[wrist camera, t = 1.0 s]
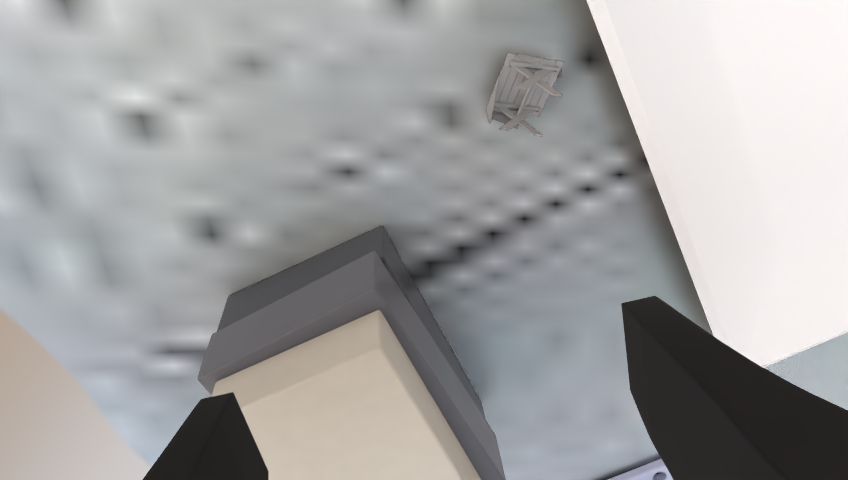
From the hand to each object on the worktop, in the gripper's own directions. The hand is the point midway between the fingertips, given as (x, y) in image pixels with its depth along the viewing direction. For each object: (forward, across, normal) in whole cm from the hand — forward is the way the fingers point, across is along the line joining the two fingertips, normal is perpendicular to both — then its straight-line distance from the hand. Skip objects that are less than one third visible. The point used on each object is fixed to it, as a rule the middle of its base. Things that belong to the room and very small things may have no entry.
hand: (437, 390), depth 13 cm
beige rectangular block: (+6, +3, +6) cm, 9 cm away
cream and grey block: (+10, +3, +6) cm, 12 cm away
